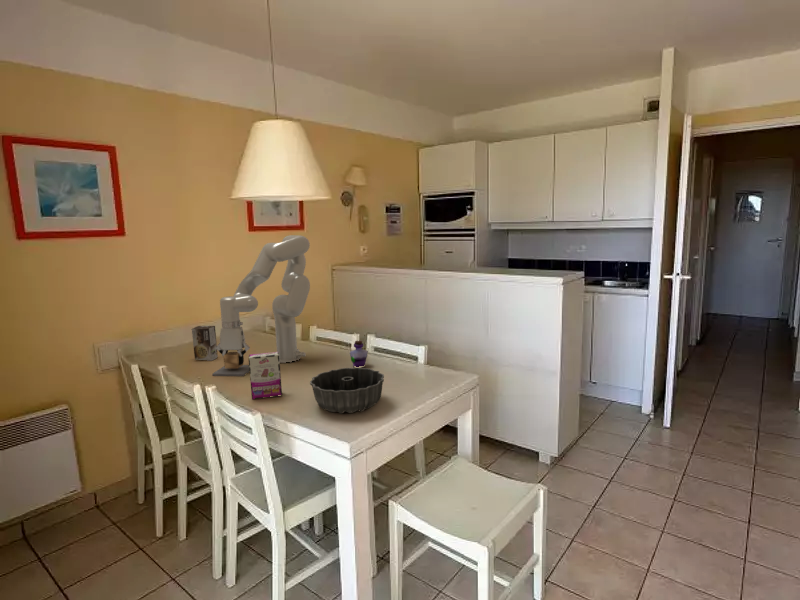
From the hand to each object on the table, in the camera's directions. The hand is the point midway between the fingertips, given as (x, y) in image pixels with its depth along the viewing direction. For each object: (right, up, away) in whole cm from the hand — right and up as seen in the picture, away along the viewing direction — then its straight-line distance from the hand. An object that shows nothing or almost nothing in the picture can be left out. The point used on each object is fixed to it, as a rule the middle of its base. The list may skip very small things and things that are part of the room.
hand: (234, 363), depth 210 cm
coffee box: (-21, -1, +21) cm, 30 cm away
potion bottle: (+56, -2, +4) cm, 56 cm away
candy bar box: (+23, -8, -30) cm, 39 cm away
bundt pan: (+56, -9, -40) cm, 69 cm away
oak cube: (0, -1, 0) cm, 1 cm away
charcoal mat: (0, -3, +1) cm, 4 cm away
